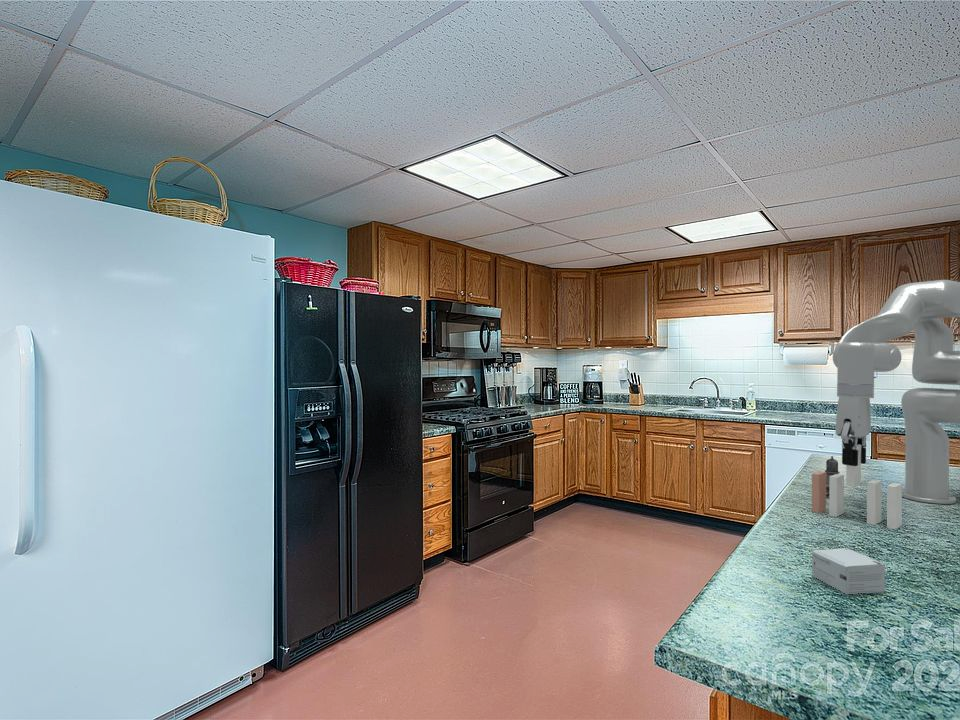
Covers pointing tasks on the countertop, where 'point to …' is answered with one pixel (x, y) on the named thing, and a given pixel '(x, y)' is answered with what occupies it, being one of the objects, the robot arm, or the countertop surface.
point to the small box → (848, 571)
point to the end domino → (818, 492)
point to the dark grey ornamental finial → (830, 472)
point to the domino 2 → (854, 471)
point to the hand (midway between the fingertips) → (854, 463)
